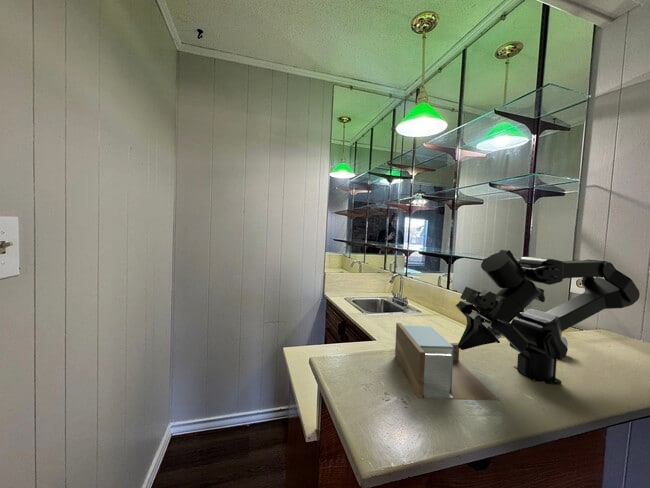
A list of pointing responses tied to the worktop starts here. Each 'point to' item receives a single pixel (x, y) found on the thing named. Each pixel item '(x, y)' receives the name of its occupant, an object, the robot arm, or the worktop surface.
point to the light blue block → (431, 341)
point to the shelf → (414, 365)
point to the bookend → (437, 375)
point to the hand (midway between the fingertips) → (459, 348)
